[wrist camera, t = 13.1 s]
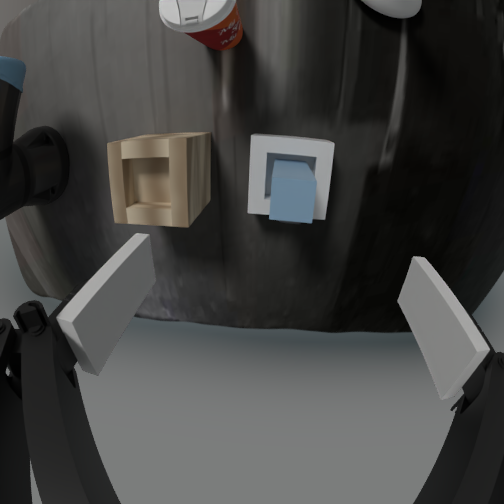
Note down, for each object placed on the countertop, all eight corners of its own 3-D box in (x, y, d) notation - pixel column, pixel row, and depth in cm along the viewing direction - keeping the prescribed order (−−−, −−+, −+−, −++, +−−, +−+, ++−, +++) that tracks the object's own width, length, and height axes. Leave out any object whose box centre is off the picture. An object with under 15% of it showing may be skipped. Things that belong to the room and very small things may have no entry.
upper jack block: (149, 197, 41) (114, 222, 31) (146, 134, 36) (107, 143, 27) (210, 200, 40) (188, 227, 31) (211, 132, 35) (186, 138, 26)
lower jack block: (251, 202, 40) (247, 213, 36) (254, 133, 35) (251, 135, 31) (320, 208, 39) (324, 220, 35) (328, 140, 34) (334, 143, 30)
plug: (272, 192, 36) (268, 225, 26) (275, 158, 34) (271, 177, 24) (302, 194, 36) (311, 229, 26) (305, 161, 34) (317, 181, 23)
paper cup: (251, 55, 30) (233, 23, 17) (195, 60, 30) (152, 35, 18) (251, 9, 26) (234, -38, 14) (196, 14, 27) (157, -24, 14)
